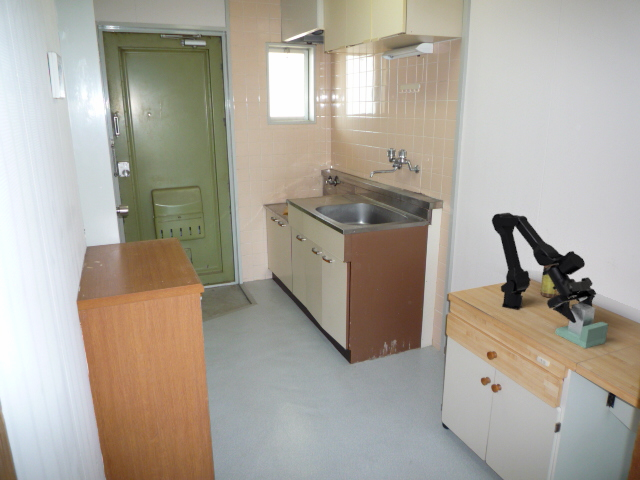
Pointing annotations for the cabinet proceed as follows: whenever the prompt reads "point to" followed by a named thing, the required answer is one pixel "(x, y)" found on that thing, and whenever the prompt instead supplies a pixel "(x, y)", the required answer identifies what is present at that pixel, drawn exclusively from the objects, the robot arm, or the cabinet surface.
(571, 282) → the robot arm
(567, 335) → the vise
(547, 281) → the sauce bottle
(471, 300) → the cabinet surface
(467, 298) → the cabinet surface
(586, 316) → the gray upright column
